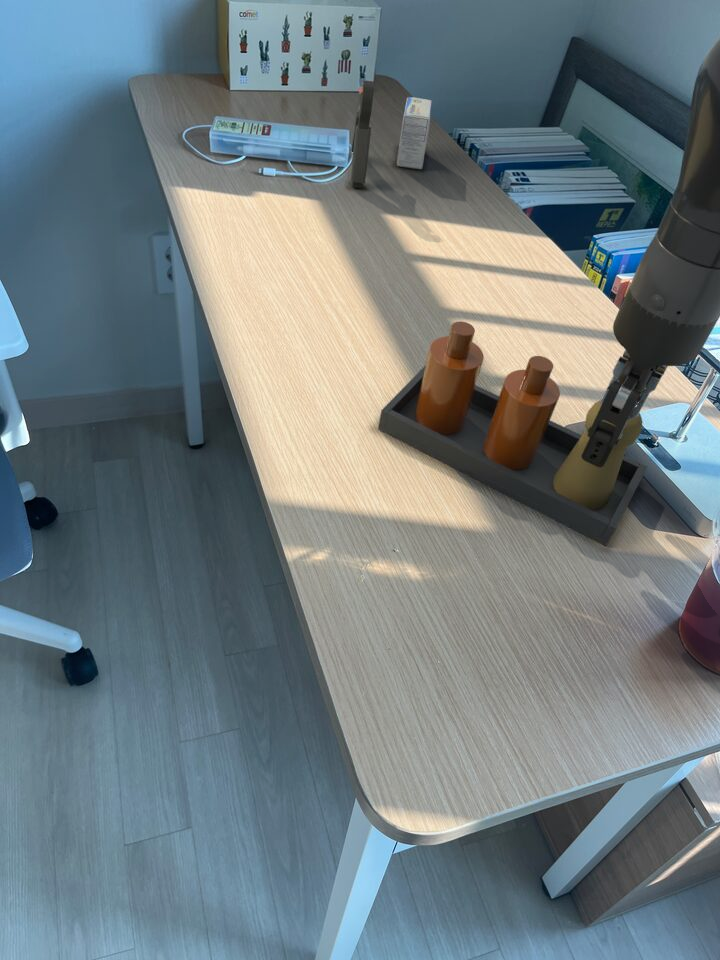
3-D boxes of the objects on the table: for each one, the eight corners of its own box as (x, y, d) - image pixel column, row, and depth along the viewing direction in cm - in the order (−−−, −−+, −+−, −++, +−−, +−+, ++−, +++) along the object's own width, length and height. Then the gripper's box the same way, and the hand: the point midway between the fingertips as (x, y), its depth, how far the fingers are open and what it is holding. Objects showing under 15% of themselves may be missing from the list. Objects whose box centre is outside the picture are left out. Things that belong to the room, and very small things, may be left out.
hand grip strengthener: (363, 155, 129) (374, 60, 118) (364, 190, 120) (377, 91, 109) (349, 154, 128) (360, 58, 117) (350, 188, 120) (361, 89, 109)
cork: (612, 515, 77) (655, 437, 69) (553, 503, 77) (590, 424, 69) (608, 473, 81) (648, 395, 73) (552, 462, 81) (586, 383, 73)
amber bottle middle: (542, 448, 82) (578, 361, 74) (521, 478, 79) (557, 390, 70) (496, 426, 84) (526, 338, 75) (474, 454, 80) (503, 365, 72)
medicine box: (421, 171, 127) (431, 118, 121) (395, 166, 127) (403, 113, 121) (424, 151, 133) (433, 99, 126) (398, 147, 133) (406, 95, 126)
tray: (637, 484, 81) (647, 466, 79) (605, 546, 75) (616, 528, 73) (423, 381, 89) (428, 362, 87) (377, 429, 82) (381, 410, 80)
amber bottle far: (473, 414, 85) (500, 326, 76) (450, 442, 81) (476, 352, 73) (429, 393, 86) (451, 305, 78) (405, 419, 83) (425, 329, 74)
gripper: (700, 354, 56) (620, 498, 68) (740, 276, 65) (663, 415, 77) (605, 315, 58) (544, 461, 70) (657, 244, 67) (595, 384, 79)
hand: (606, 437), depth 74 cm, fingers open, 8 cm apart
